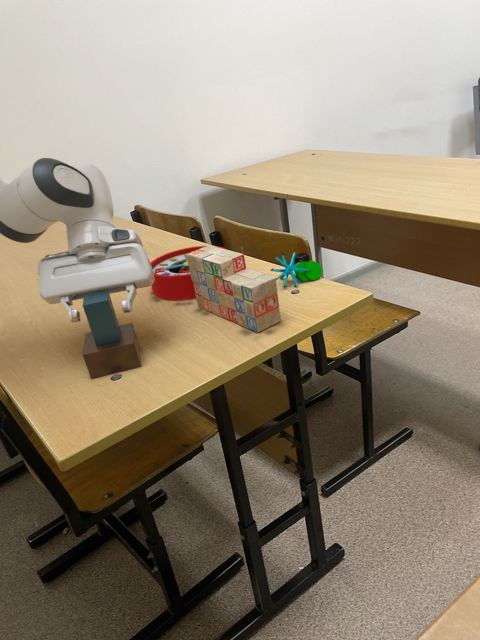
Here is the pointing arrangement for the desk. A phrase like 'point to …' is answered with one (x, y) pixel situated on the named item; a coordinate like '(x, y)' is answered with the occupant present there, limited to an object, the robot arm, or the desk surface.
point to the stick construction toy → (298, 270)
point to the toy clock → (174, 275)
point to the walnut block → (112, 353)
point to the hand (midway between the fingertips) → (101, 316)
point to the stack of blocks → (233, 288)
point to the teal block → (102, 318)
